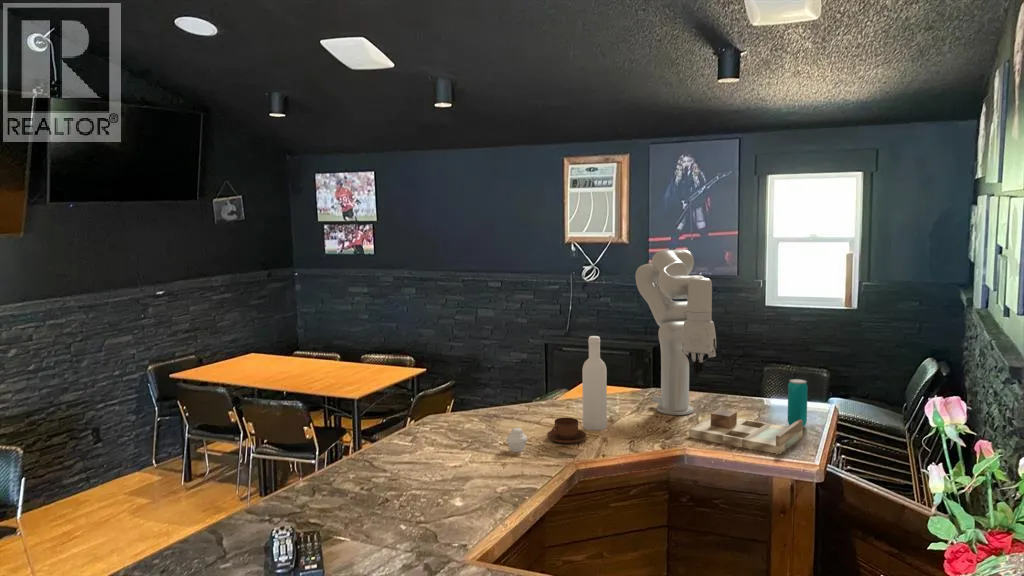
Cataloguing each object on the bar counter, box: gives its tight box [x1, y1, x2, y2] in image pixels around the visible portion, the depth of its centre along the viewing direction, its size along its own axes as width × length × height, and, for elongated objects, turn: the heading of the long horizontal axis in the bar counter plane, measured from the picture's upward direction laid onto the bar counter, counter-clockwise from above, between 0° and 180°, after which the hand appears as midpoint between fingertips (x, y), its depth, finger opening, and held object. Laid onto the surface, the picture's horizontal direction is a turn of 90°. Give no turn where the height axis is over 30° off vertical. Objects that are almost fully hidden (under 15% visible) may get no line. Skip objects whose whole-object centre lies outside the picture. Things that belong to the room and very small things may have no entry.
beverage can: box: [787, 378, 809, 429], centre depth 231 cm, size 6×6×15 cm
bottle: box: [581, 335, 608, 432], centre depth 234 cm, size 8×8×30 cm
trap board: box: [688, 416, 804, 455], centre depth 222 cm, size 28×20×6 cm
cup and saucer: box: [546, 417, 587, 444], centre depth 223 cm, size 12×12×6 cm
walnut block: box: [710, 408, 738, 429], centre depth 226 cm, size 6×6×4 cm
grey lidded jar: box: [506, 427, 528, 453], centre depth 213 cm, size 6×6×7 cm
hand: (699, 373), depth 230 cm, fingers closed
